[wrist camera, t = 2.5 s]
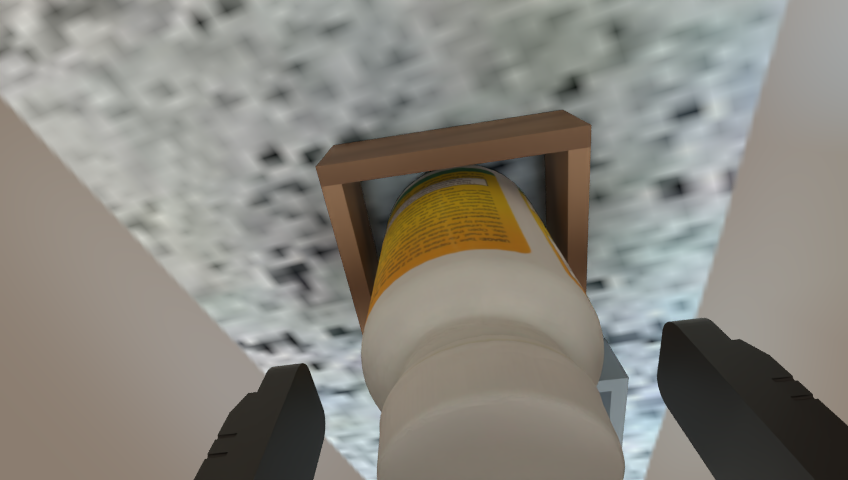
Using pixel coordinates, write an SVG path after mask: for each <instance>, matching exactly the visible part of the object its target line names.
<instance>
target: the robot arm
mask: <svg viewBox="0 0 848 480" xmlns="http://www.w3.org/2000/svg"><path fill="white" fill-rule="evenodd" d="M657 381H658V387H659V390H660V394H661V396H662V399H663V401H664V403H665V404H666V406H667V407H668V409H669V410H670V412H671V413H672V415H673V416H674V418H675V419H676V421H677V422H678V424H679V425H680V427H681V428H682V430H683V431H684V433H685V434H686V436H687V437H688V439H689V440H690V442H691V443H692V445H693V446H694V448H695V449H696V451H697V452H698V454H699V455H700V457H701V458H702V460H703V461H704V463H705V464H706V466H707V467H708V469H709V470H710V472H711V473H712V475H713V476H714V478H715V479H716V480H848V426H847V425H846V424H845V423H844V422H843V421H842V420H841V419H840V418H839V417H837V416H836V415H835V414H834V413H833V412H832V411H831V410H830V409H829V408H828V407H826V406H825V405H824V404H823V403H822V402H821V401H820V400H819V399H814V398H813V394H812V393H811V392H810V391H808V389H806V388H805V387H804V386H803V385H802V384H801V383H800V382H799V381H795V380H794V379H793V376H792V375H791V374H790V373H789V372H788V371H787V370H785V369H784V368H783V367H782V366H781V365H780V364H779V363H778V362H777V361H775V360H774V359H773V358H772V357H771V356H770V355H768V354H766V353H764V352H763V351H761V350H759V349H757V348H755V347H753V346H752V345H750V344H748V343H746V342H744V341H742V340H740V339H738V340H731V339H730V338H729V337H728V336H727V335H726V334H725V333H724V332H723V331H722V330H721V329H719V327H718V326H716V325H715V324H714V323H713V322H712V321H711V320H709V319H707V318H698V319H689V320H680V321H672V322H667V323H666V324H665V325H664V327H663V332H662V340H661V348H660V356H659V364H658V372H657ZM324 435H325V414H324V410H323V407H322V404H321V401H320V398H319V396H318V393H317V390H316V387H315V385H314V382H313V379H312V376H311V373H310V371H309V368H308V366H307V365H306V364H304V363H301V364H293V365H284V366H276V367H271V368H270V369H269V370H268V371H267V373H266V375H265V378H264V379H263V381H262V383H261V385H260V387H259V389H258V392H254V393H248V394H247V395H246V396H245V397H244V398H243V399H242V400H241V402H239V404H238V405H237V406H236V407H235V408H234V409H233V410H232V411H231V412H230V413H229V415H228V417H227V419H226V421H225V423H224V424H223V426H222V428H221V430H220V432H219V434H218V439H217V440H215V441H214V443H213V445H212V447H211V448H210V450H209V452H208V458H207V459H205V460H204V462H203V464H202V465H201V467H200V469H199V471H198V473H197V475H196V477H195V479H194V480H313V479H314V475H315V471H316V467H317V463H318V459H319V456H320V452H321V448H322V444H323V440H324Z"/></svg>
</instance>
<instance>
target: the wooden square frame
mask: <svg viewBox="0 0 848 480" xmlns="http://www.w3.org/2000/svg"><path fill="white" fill-rule="evenodd" d="M590 152H591V125H590V124H588V123H587V122H585V121H583V120H581V119H579V118H577V117H575V116H573V115H572V114H570V113H568V112H566V111H564V110H559V111H552V112H546V113H539V114H533V115H526V116H520V117H513V118H507V119H500V120H494V121H488V122H481V123H475V124H468V125H462V126H455V127H449V128H442V129H436V130H429V131H423V132H416V133H410V134H404V135H397V136H391V137H384V138H378V139H371V140H365V141H358V142H352V143H345V144H339V145H333V147H332V148H331V149H330V150H329V151H328V153H327V154H326V155H325V156H324V157H323V159H322V160H321V161H320V162H319V163H318V165H317V166H316V170H317V174H318V177H319V181H320V184H321V188H322V192H323V195H324V199H325V202H326V206H327V209H328V213H329V217H330V220H331V224H332V227H333V231H334V234H335V238H336V242H337V245H338V249H339V252H340V256H341V259H342V263H343V267H344V270H345V274H346V277H347V281H348V284H349V288H350V292H351V295H352V299H353V302H354V306H355V309H356V313H357V317H358V320H359V324H360V327H361V331H362V334H363V333H364V328H365V323H366V319H367V314H368V310H369V305H370V301H371V296H372V292H373V287H374V282H375V278H376V273H377V269H378V264H379V261H378V256H377V252H376V248H375V243H374V239H373V235H372V231H371V226H370V222H369V218H368V213H367V209H366V205H365V201H364V196H363V192H362V188H361V184H360V181H365V180H372V179H379V178H385V177H392V176H399V175H406V174H412V173H419V172H426V171H433V170H440V169H446V168H453V167H460V166H467V165H473V164H480V163H487V162H494V161H500V160H507V159H514V158H521V157H528V156H534V155H541V154H545V181H546V229H547V231H548V233H549V234H550V236H551V238H552V239H553V241H554V243H555V244H556V246H557V248H558V249H559V251H560V252H561V254H562V255H563V257H564V259H565V260H566V262H567V264H568V265H569V267H570V268H571V270H572V272H573V273H574V275H575V277H576V278H577V280H578V282H579V283H580V285H581V286H582V288H583V290H584V291H585V293H586V280H587V248H588V216H589V184H590Z"/></svg>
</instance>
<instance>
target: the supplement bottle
mask: <svg viewBox="0 0 848 480" xmlns="http://www.w3.org/2000/svg"><path fill="white" fill-rule="evenodd" d="M361 359H362V369H363V374H364V378H365V382H366V385H367V387H368V390H369V392H370V394H371V396H372V398H373V400H374V402H375V403H376V405H377V406H378V408H379V409H380V410H381V412H382V413H381V417H380V438H379V450H378V462H377V480H623V478H624V472H625V461H624V456H623V451H622V447H621V444H620V441H619V438H618V436H617V434H616V432H615V429H614V427H613V425H612V423H611V421H610V419H609V416H608V414H607V412H606V410H605V407H604V405H603V402H602V399H601V396H600V393H599V391H598V389H597V384H598V382H599V379H600V376H601V372H602V367H603V361H604V340H603V334H602V330H601V326H600V322H599V319H598V316H597V314H596V312H595V310H594V308H593V306H592V304H591V302H590V300H589V299H588V297H587V295H586V293H585V291H584V290H583V288H582V286H581V285H580V283H579V282H578V280H577V278H576V277H575V275H574V273H573V272H572V270H571V268H570V267H569V265H568V264H567V262H566V260H565V259H564V257H563V255H562V254H561V252H560V251H559V249H558V248H557V246H556V244H555V243H554V241H553V239H552V238H551V236H550V234H549V233H548V231H547V229H546V228H545V226H544V224H543V222H542V221H541V219H540V217H539V215H538V214H537V213H536V211H535V210H534V208H533V206H532V205H531V203H530V201H529V200H528V199H527V197H526V196H525V195H524V193H523V192H522V191H521V189H520V188H519V187H518V186H517V185H516V184H515V183H514V182H512V181H511V180H510V179H508V178H507V177H505V176H504V175H502V174H500V173H498V172H496V171H494V170H491V169H488V168H485V167H481V166H475V165H467V166H460V167H453V168H446V169H440V170H435V171H432V172H430V173H427V174H425V175H423V176H422V177H420V178H419V179H417V180H416V181H414V182H413V183H412V184H411V185H410V186H408V187H407V188H406V189H405V191H404V192H403V193H402V194H401V195H400V196H399V198H398V200H397V201H396V203H395V205H394V207H393V209H392V211H391V214H390V217H389V220H388V224H387V228H386V233H385V236H384V241H383V245H382V250H381V255H380V259H379V264H378V269H377V273H376V278H375V282H374V287H373V292H372V296H371V301H370V305H369V310H368V314H367V319H366V323H365V328H364V333H363V338H362V348H361Z"/></svg>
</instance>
